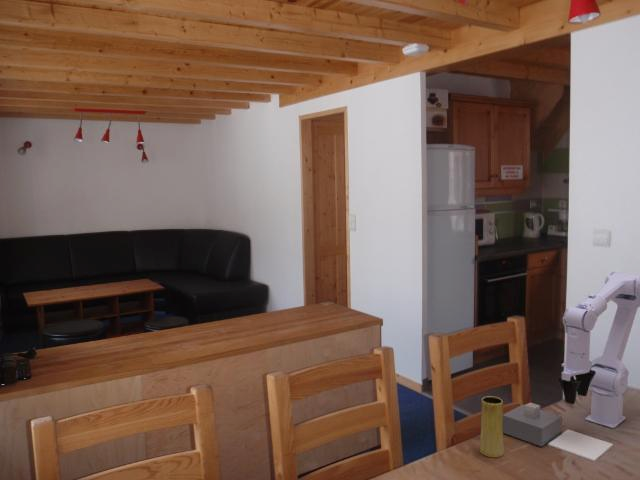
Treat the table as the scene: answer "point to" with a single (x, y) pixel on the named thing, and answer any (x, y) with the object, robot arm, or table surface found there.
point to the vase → (492, 427)
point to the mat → (580, 445)
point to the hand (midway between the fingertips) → (576, 399)
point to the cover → (532, 424)
